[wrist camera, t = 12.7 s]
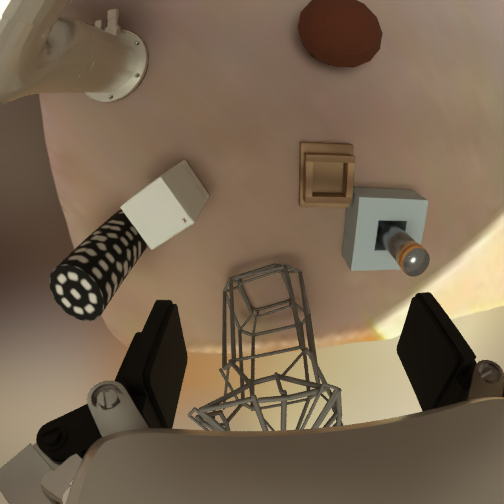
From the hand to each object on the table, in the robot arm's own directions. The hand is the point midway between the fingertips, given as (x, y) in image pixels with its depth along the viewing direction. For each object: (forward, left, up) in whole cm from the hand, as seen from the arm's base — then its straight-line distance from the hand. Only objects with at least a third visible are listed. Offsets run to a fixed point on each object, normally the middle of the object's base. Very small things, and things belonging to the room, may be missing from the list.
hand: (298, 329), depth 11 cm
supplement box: (+4, -14, -38) cm, 41 cm away
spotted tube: (+11, -24, -38) cm, 47 cm away
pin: (+10, +19, -37) cm, 43 cm away
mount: (+2, +9, -38) cm, 39 cm away
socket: (+10, +19, -38) cm, 44 cm away
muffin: (-20, +10, -38) cm, 45 cm away
